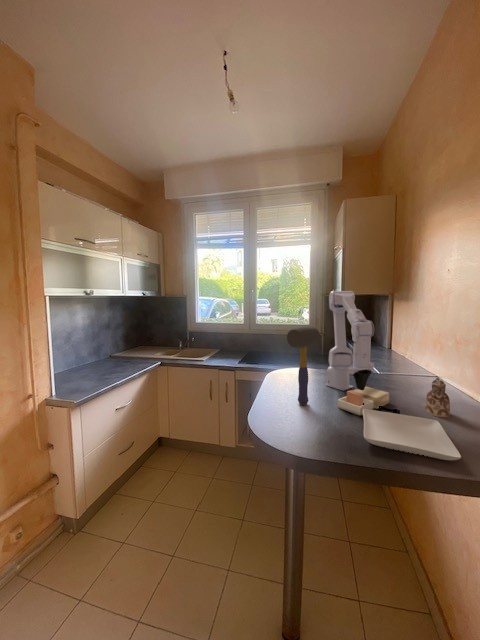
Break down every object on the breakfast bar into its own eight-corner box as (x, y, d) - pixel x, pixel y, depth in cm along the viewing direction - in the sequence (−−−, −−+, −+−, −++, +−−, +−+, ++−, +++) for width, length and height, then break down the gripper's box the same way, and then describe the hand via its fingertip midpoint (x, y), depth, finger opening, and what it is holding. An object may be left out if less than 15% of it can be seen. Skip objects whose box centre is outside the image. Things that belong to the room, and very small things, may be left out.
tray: (337, 407, 96) (337, 399, 96) (351, 401, 101) (351, 394, 101) (359, 415, 89) (360, 407, 88) (373, 409, 94) (373, 401, 94)
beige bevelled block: (351, 400, 102) (352, 390, 102) (363, 395, 107) (364, 385, 107) (377, 408, 94) (377, 398, 94) (389, 402, 99) (389, 392, 99)
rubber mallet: (305, 397, 106) (305, 325, 103) (320, 403, 100) (322, 326, 98) (284, 405, 98) (285, 327, 96) (300, 411, 92) (301, 329, 90)
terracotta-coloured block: (350, 402, 98) (346, 404, 96) (350, 390, 97) (346, 391, 96) (363, 407, 94) (359, 409, 92) (363, 394, 93) (359, 395, 92)
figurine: (423, 413, 90) (425, 380, 89) (425, 406, 95) (426, 375, 95) (449, 419, 85) (451, 384, 85) (449, 412, 91) (451, 378, 90)
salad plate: (437, 429, 80) (437, 418, 79) (462, 470, 61) (463, 457, 60) (362, 417, 89) (362, 407, 88) (363, 450, 69) (363, 437, 69)
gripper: (361, 358, 88) (360, 396, 89) (382, 352, 96) (381, 388, 97) (342, 354, 94) (342, 391, 95) (364, 349, 102) (363, 383, 103)
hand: (360, 389), depth 96 cm, fingers closed
